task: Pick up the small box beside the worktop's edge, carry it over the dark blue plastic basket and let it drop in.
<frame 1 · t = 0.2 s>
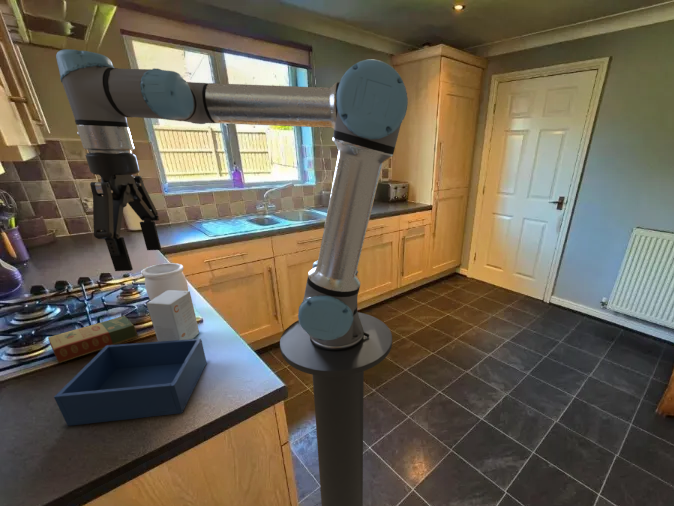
hand: (140, 259, 70), 26 cm above the worktop, tool pointing down, fingers open, 13 cm apart
small box: (180, 340, 88), on the worktop
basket: (146, 390, 70), on the worktop
carton: (97, 344, 86), on the worktop
jar: (174, 314, 101), on the worktop
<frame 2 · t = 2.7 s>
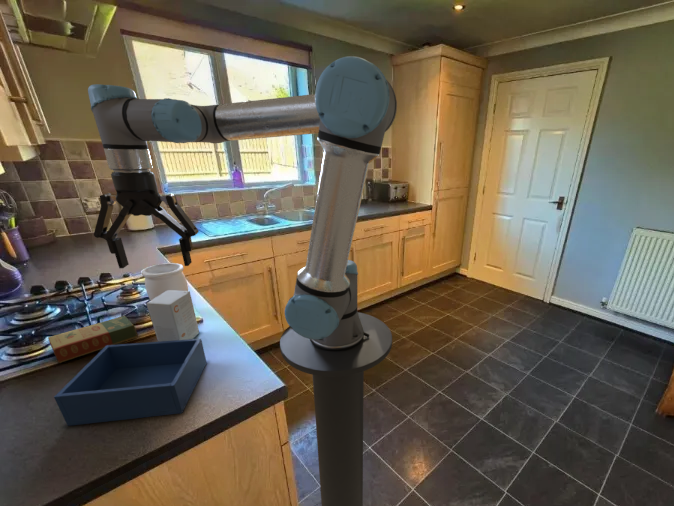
hand: (156, 265, 78), 22 cm above the worktop, tool pointing down, fingers open, 13 cm apart
nothing on the worktop moved.
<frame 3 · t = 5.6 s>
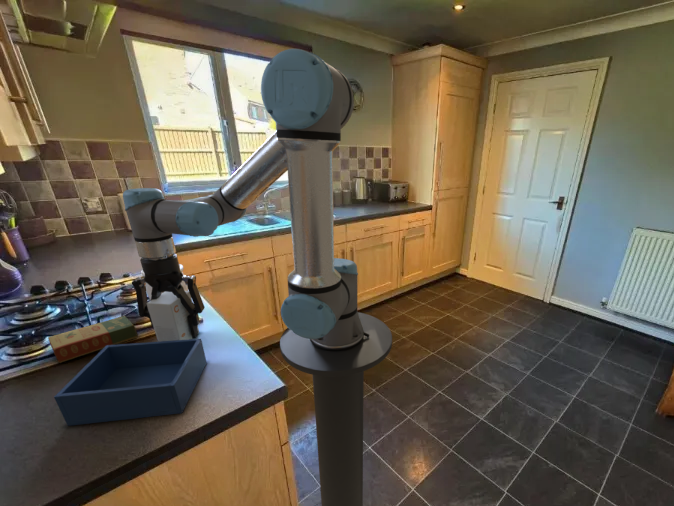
hand: (179, 336, 88), 1 cm above the worktop, tool pointing down, fingers closed on small box, 7 cm apart
small box: (180, 340, 88), on the worktop, touching gripper
everything else where it was.
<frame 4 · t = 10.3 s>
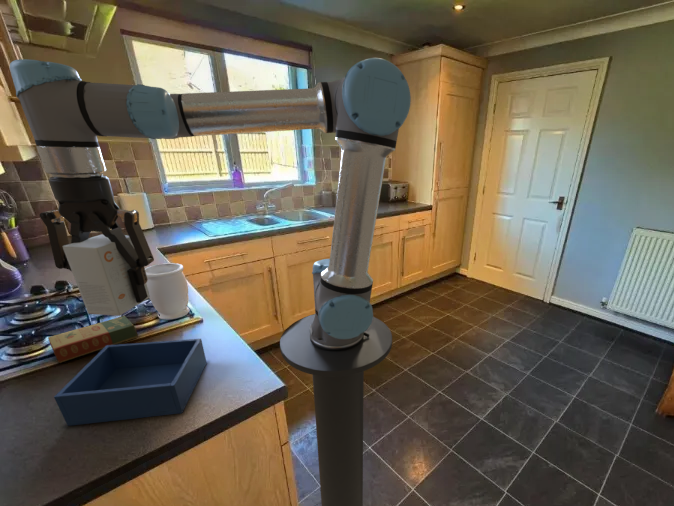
hand: (119, 300, 63), 21 cm above the worktop, tool pointing down, fingers closed on small box, 7 cm apart
small box: (120, 306, 63), point 20 cm above the worktop, touching gripper
everything else where it was.
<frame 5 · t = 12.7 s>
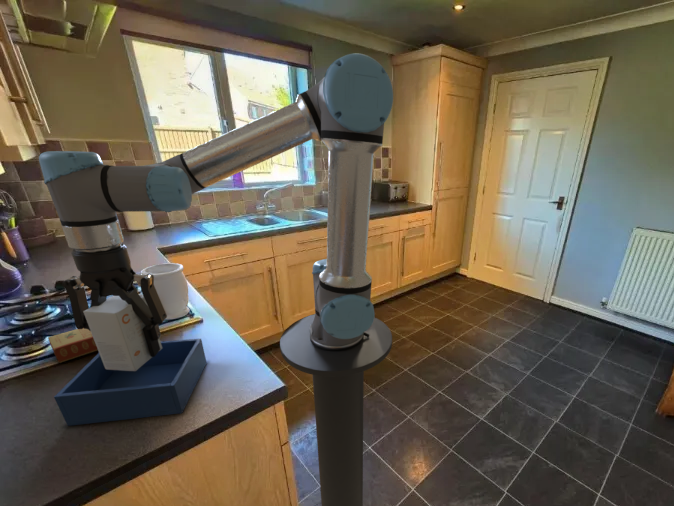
hand: (134, 354, 67), 9 cm above the worktop, tool pointing down, fingers closed on small box, 7 cm apart
small box: (135, 359, 67), point 8 cm above the worktop, touching gripper
everything else where it was.
when the fingers open (3 cm above the worktop, at t = 14.9 s): small box stays where it is, resting on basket.
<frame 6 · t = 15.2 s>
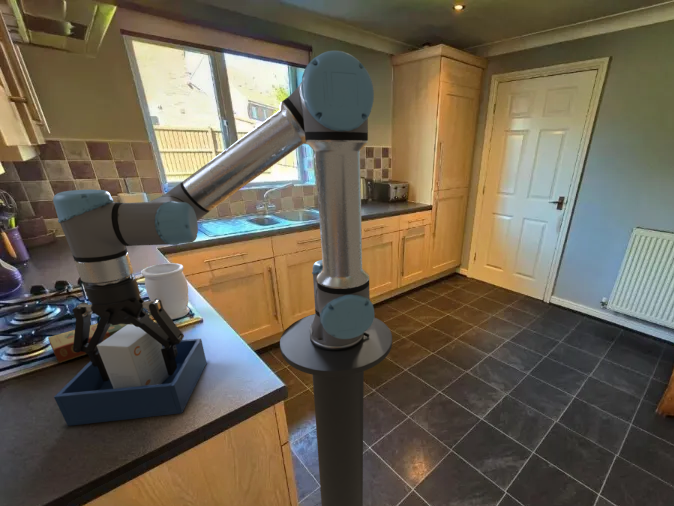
hand: (141, 374, 69), 4 cm above the worktop, tool pointing down, fingers open, 11 cm apart
small box: (145, 387, 70), point 1 cm above the worktop, touching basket
everything else where it was.
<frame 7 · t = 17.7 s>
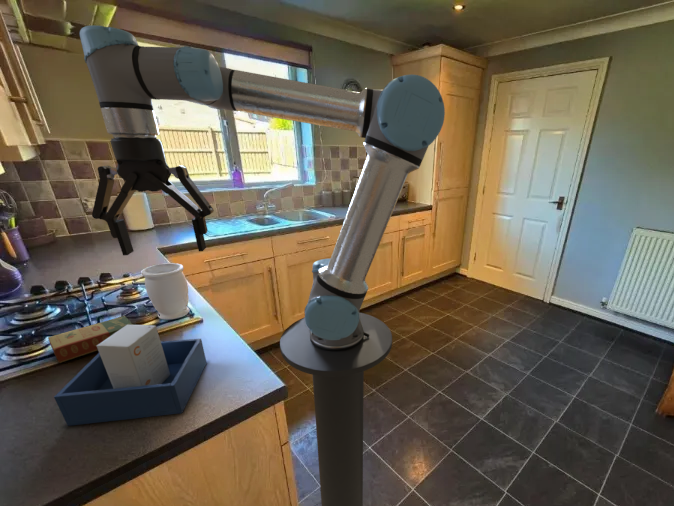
hand: (166, 251, 67), 29 cm above the worktop, tool pointing down, fingers open, 13 cm apart
nothing on the worktop moved.
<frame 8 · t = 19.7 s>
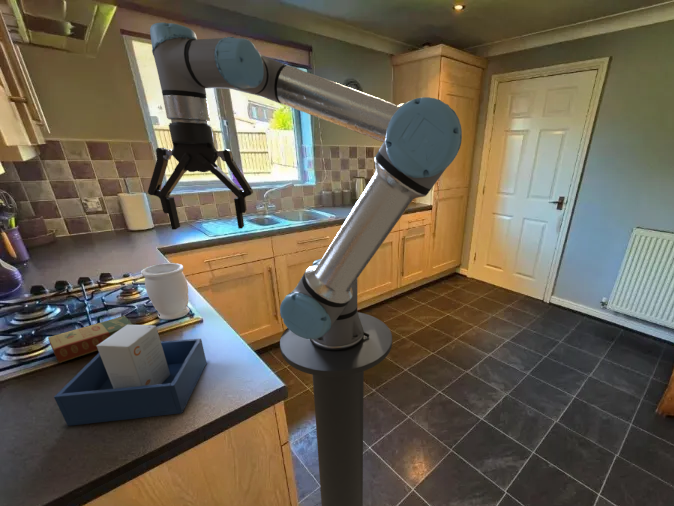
hand: (209, 227, 74), 32 cm above the worktop, tool pointing down, fingers open, 13 cm apart
nothing on the worktop moved.
at the end: small box inside the target area in the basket (0.1 cm from its centre), point 0.8 cm above the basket's base; the gripper is holding nothing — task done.
